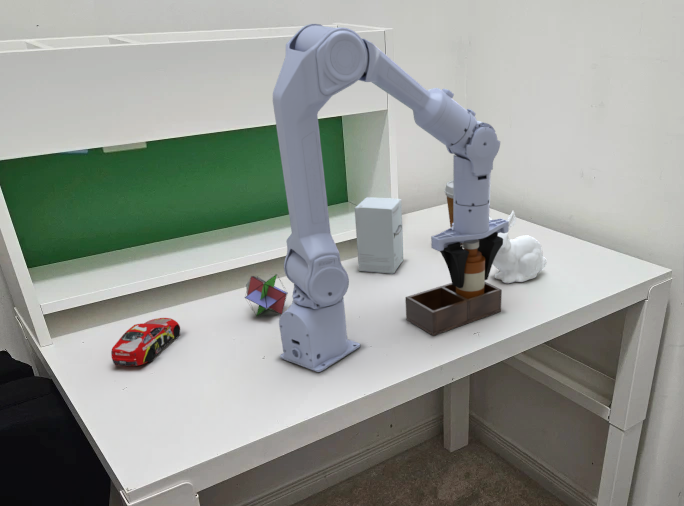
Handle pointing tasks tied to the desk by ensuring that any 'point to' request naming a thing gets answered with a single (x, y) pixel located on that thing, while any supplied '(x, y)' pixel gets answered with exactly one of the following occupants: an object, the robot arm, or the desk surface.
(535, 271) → the rabbit
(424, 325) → the wooden compartment tray
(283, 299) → the geometric puzzle
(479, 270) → the amber bottle
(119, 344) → the race car
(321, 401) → the desk surface
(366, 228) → the white packaging box
